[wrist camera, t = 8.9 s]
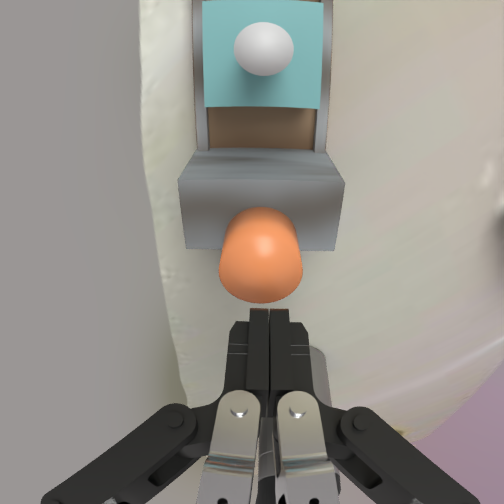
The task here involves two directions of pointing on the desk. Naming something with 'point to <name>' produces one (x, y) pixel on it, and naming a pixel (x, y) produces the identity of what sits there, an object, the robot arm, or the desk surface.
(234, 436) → the robot arm
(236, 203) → the rail
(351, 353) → the desk surface
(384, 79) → the desk surface
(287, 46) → the carriage
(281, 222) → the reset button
